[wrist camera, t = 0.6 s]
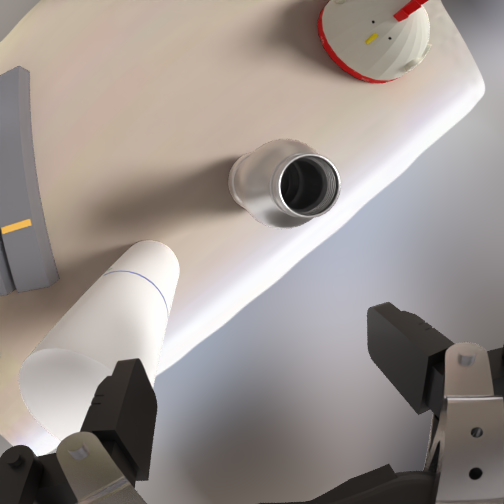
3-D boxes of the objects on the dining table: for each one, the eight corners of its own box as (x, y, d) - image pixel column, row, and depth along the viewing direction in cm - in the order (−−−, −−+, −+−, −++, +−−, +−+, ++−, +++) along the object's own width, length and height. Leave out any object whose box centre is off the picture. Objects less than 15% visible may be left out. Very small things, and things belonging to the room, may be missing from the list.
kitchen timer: (296, 29, 32) (341, -32, 18) (353, -16, 31) (404, -69, 17) (375, 103, 36) (451, 78, 21) (421, 50, 35) (489, 21, 20)
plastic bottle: (293, 190, 37) (382, 206, 18) (244, 219, 37) (286, 267, 18) (266, 142, 35) (332, 107, 16) (215, 171, 35) (225, 164, 16)
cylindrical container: (186, 291, 38) (166, 450, 14) (131, 302, 37) (58, 454, 13) (171, 233, 36) (111, 338, 12) (114, 247, 36) (-3, 354, 11)
